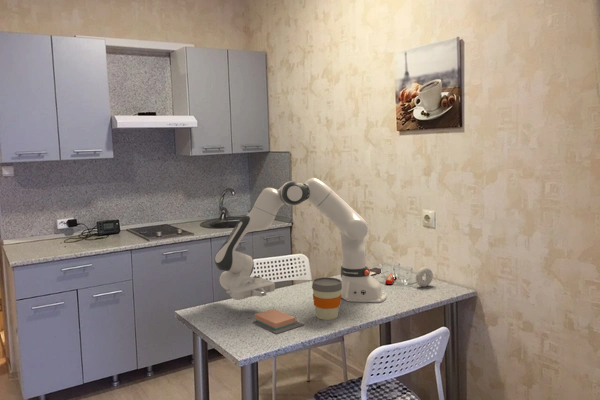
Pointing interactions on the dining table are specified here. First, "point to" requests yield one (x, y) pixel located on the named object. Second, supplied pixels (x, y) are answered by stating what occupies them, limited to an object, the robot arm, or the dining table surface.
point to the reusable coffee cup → (327, 297)
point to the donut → (420, 274)
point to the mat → (280, 328)
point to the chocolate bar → (375, 271)
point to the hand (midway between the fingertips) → (263, 294)
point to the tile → (275, 319)
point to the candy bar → (390, 279)
